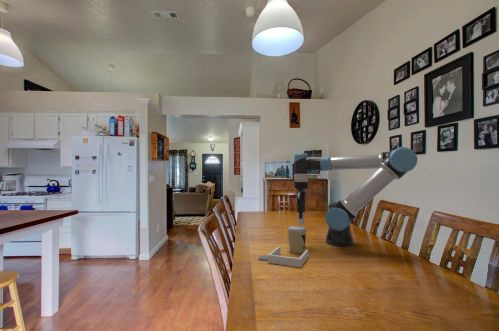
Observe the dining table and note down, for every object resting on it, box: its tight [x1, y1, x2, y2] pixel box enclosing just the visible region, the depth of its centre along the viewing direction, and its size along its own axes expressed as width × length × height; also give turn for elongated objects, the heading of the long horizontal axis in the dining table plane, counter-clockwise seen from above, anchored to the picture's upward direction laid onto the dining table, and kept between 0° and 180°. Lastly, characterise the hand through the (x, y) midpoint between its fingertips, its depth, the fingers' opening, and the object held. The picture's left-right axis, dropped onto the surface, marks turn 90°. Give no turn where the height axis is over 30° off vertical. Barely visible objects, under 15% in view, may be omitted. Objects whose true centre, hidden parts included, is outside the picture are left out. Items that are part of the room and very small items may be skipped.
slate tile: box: [257, 255, 268, 262], centre depth 129 cm, size 5×5×1 cm
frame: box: [267, 246, 309, 268], centre depth 127 cm, size 15×15×4 cm
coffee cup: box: [287, 225, 307, 254], centre depth 141 cm, size 9×9×12 cm
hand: (301, 224), depth 150 cm, fingers closed
